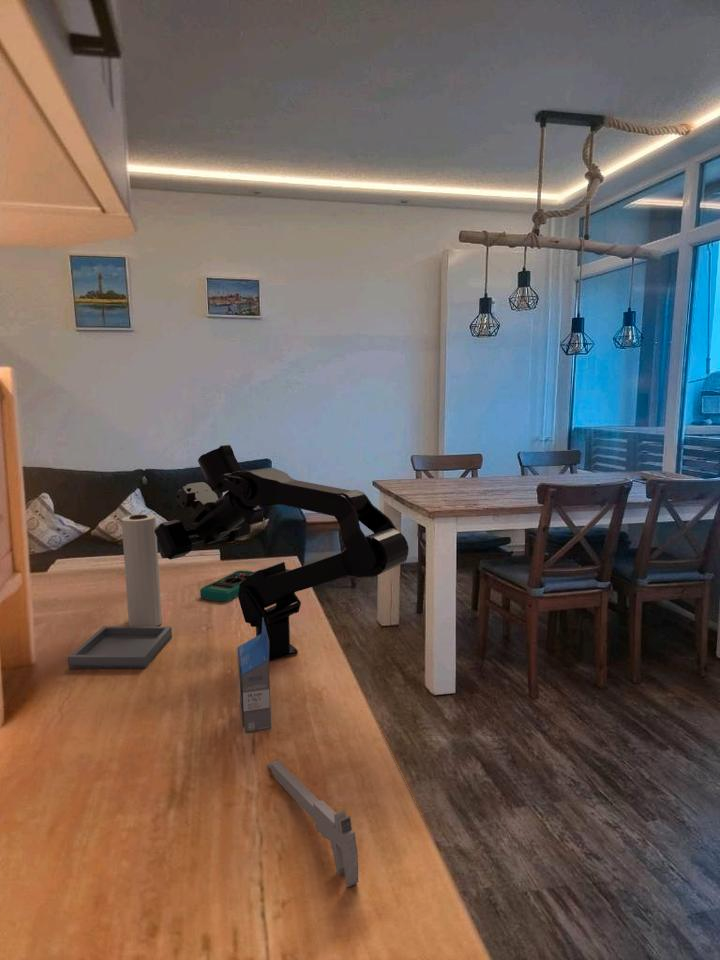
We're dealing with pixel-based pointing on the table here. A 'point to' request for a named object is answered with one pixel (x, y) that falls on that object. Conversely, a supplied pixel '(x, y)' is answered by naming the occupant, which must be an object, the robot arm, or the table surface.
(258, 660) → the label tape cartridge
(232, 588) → the digital multimeter
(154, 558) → the paper towel roll
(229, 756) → the table surface
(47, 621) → the table surface
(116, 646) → the tray
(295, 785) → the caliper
